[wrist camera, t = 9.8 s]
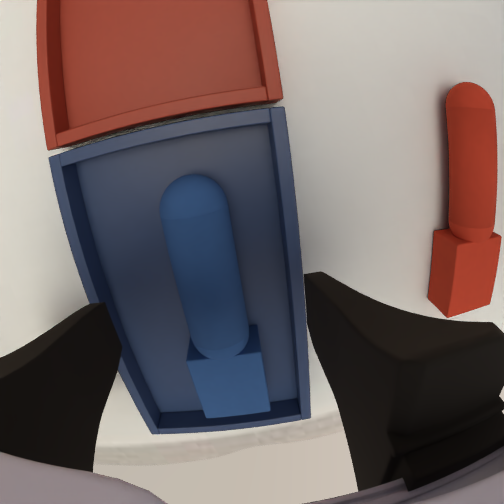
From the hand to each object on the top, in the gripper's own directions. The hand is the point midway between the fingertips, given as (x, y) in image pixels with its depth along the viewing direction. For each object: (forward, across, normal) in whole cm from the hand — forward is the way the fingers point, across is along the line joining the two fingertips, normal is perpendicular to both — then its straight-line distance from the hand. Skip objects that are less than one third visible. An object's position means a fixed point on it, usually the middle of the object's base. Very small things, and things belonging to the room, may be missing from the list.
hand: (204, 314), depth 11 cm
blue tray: (+5, +1, +2) cm, 6 cm away
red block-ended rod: (+5, -14, -2) cm, 15 cm away
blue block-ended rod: (+5, 0, +2) cm, 5 cm away
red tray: (+5, +1, -15) cm, 16 cm away
